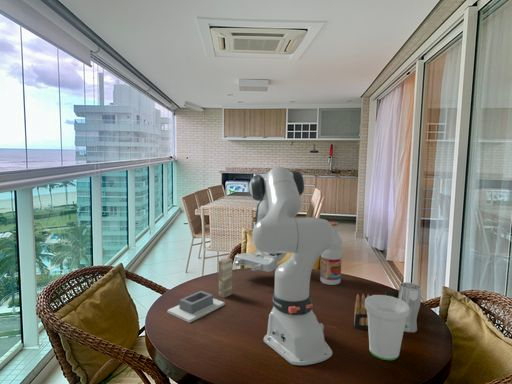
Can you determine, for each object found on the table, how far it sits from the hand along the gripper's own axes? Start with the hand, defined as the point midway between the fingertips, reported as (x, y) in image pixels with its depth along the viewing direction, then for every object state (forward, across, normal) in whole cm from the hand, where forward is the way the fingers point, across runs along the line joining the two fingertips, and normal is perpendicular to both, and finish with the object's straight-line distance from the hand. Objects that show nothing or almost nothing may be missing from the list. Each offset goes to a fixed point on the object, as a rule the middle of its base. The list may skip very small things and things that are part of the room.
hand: (243, 266), depth 148 cm
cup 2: (+12, +65, +9) cm, 67 cm away
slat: (+12, 0, +9) cm, 15 cm away
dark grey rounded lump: (-16, +60, +9) cm, 63 cm away
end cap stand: (+28, 0, +9) cm, 30 cm away
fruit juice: (-30, +28, +9) cm, 42 cm away
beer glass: (-7, +67, +9) cm, 68 cm away
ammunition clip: (+1, +56, +9) cm, 57 cm away
